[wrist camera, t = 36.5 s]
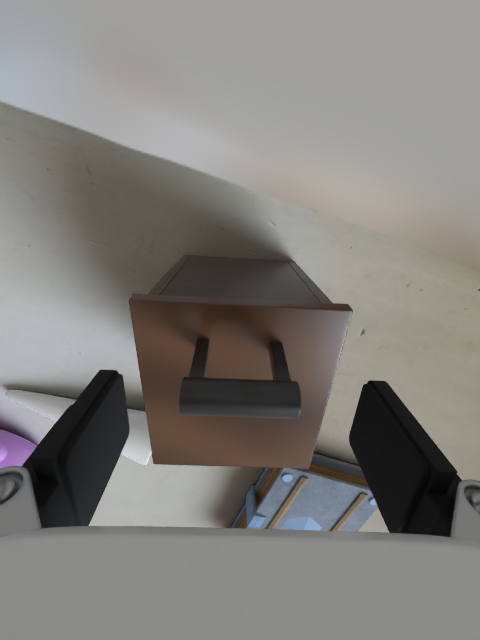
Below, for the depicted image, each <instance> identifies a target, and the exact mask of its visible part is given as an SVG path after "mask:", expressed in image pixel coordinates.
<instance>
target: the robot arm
mask: <svg viewBox="0 0 480 640" xmlns="http://www.w3.org/2000/svg"><path fill="white" fill-rule="evenodd" d="M129 431H130V427H129V419H128V412H127V404H126V397H125V389H124V382H123V376H122V375H121V374H118V372H117V371H116V370H100V371H99V372H98V373H97V374H96V376H95V377H94V378H93V379H92V381H91V382H90V383H89V385H88V386H87V387H86V388H85V390H84V391H83V392H82V394H81V395H80V396H79V397H78V399H77V400H76V401H75V403H74V404H72V405H70V406H69V407H68V408H67V409H66V411H65V412H64V413H63V414H62V416H61V417H60V418H59V419H58V421H57V422H56V423H55V424H54V426H53V427H52V428H51V430H50V431H49V432H48V433H47V435H46V436H45V437H44V438H43V440H42V441H41V442H40V443H39V445H38V446H37V447H36V448H35V450H34V451H33V452H32V453H31V455H30V456H29V457H28V459H27V460H26V461H25V462H24V464H23V465H22V466H8V467H3V468H0V640H480V481H476V480H463V481H462V480H461V479H460V477H459V476H458V475H457V471H456V470H455V468H454V467H453V466H452V464H451V463H450V462H449V461H448V459H447V458H446V457H445V456H444V454H443V453H442V452H441V451H440V449H439V448H438V447H437V445H436V444H435V443H434V442H433V440H432V439H431V438H430V437H429V435H428V434H427V433H426V432H425V430H424V429H423V428H422V426H421V425H420V424H419V423H418V421H417V420H416V419H415V418H414V416H413V415H412V414H411V412H410V411H409V410H408V409H407V407H406V406H405V405H404V404H403V402H402V401H401V400H400V399H399V397H398V396H397V395H396V393H395V392H394V391H393V390H392V388H391V387H390V386H389V385H388V383H387V382H385V381H369V382H368V383H367V384H364V385H363V388H362V391H361V395H360V398H359V402H358V406H357V409H356V413H355V417H354V420H353V424H352V427H351V431H350V435H349V442H350V445H351V448H352V450H353V452H354V454H355V457H356V459H357V461H358V463H359V466H360V468H361V470H362V472H363V474H364V477H365V479H366V481H367V483H368V486H369V488H370V490H371V492H372V495H373V497H374V499H375V501H376V504H377V506H378V508H379V510H380V512H381V515H382V517H383V519H384V521H385V524H386V526H387V528H388V530H389V532H390V533H380V532H349V531H317V530H281V529H241V528H197V527H145V526H88V525H89V523H90V521H91V519H92V517H93V515H94V512H95V510H96V508H97V506H98V503H99V501H100V499H101V497H102V495H103V492H104V490H105V488H106V486H107V483H108V481H109V479H110V477H111V475H112V472H113V470H114V468H115V466H116V463H117V461H118V459H119V457H120V454H121V452H122V450H123V448H124V446H125V443H126V441H127V439H128V436H129Z"/></svg>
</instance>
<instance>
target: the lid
mask: <svg viewBox="0 0 480 640" xmlns="http://www.w3.org/2000/svg"><path fill="white" fill-rule="evenodd" d="M129 305H130V311H131V318H132V324H133V331H134V338H135V344H136V351H137V358H138V364H139V371H140V378H141V384H142V391H143V398H144V404H145V411H146V418H147V424H148V431H149V438H150V444H151V451H152V457H153V464H166V465H201V466H235V467H270V468H304V469H309V467H310V463H311V460H312V456H313V452H314V449H315V445H316V442H317V438H318V434H319V431H320V427H321V424H322V420H323V416H324V413H325V409H326V406H327V402H328V398H329V395H330V391H331V388H332V384H333V380H334V377H335V373H336V370H337V366H338V362H339V359H340V355H341V352H342V348H343V344H344V341H345V337H346V334H347V330H348V326H349V323H350V319H351V316H352V312H353V310H352V309H351V307H350V306H349V305H348V304H334V303H313V302H292V301H270V300H249V299H228V298H206V297H185V296H164V295H142V294H133V295H132V297H131V298H130V299H129Z"/></svg>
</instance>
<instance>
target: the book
mask: <svg viewBox="0 0 480 640" xmlns="http://www.w3.org/2000/svg"><path fill="white" fill-rule="evenodd" d="M377 508H378V506H377V504H376V501H375V499H374V497H373V495H372V492H371V490H370V488H369V486H368V483H367V481H366V479H365V477H364V474H363V472H362V470H361V468H360V466H356V465H353V464H349V463H346V462H342V461H339V460H336V459H332V458H329V457H325V456H322V455H318V454H315V453H313V456H312V460H311V463H310V467H309V469H304V468H270V467H266V469H265V470H264V472H263V474H262V476H261V477H260V479H259V481H258V482H257V484H256V485H252V486H251V488H250V489H249V491H248V493H247V494H246V503H245V504H244V506H243V508H242V510H241V511H240V513H239V515H238V516H237V518H236V520H235V521H234V523H233V525H232V526H231V528H241V529H281V530H317V531H349V532H357V531H358V530H359V529H360V528H361V527H362V525H363V524H364V523H365V522H366V521H367V520H368V518H369V517H370V516H371V515H372V514H373V513H374V511H375V510H376V509H377Z"/></svg>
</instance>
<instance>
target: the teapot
mask: <svg viewBox="0 0 480 640" xmlns="http://www.w3.org/2000/svg"><path fill="white" fill-rule="evenodd" d="M36 447H37V446H36V445H35V444H33V443H32V442H30V441H29V440H27V439H25V438H22V437H20V436H18V435H15V434H13V433H10V432H7V431H4V430H1V429H0V468H3V467H8V466H22V465H23V464H24V462H25V461H26V460H27V459H28V457H29V456H30V455H31V453H32V452H33V451H34V450H35V448H36Z"/></svg>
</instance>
